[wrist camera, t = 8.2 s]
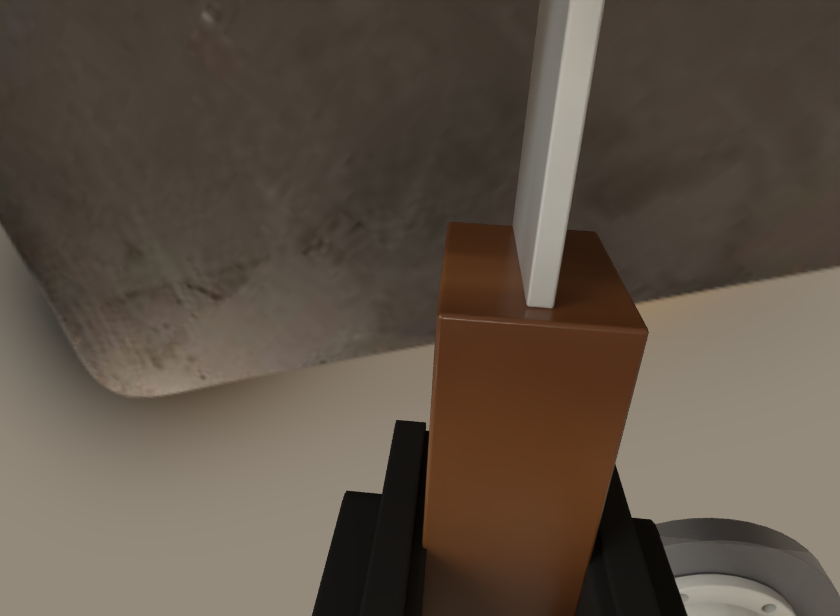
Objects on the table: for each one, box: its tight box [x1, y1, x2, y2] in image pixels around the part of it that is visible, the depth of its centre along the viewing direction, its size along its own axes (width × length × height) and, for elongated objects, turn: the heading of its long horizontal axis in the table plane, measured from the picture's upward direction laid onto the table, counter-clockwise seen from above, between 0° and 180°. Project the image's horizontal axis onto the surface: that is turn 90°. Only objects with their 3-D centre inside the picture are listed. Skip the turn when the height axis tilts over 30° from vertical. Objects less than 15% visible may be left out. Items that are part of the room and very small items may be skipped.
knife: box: [422, 0, 649, 616], centre depth 7 cm, size 21×2×3 cm, turn 178°
